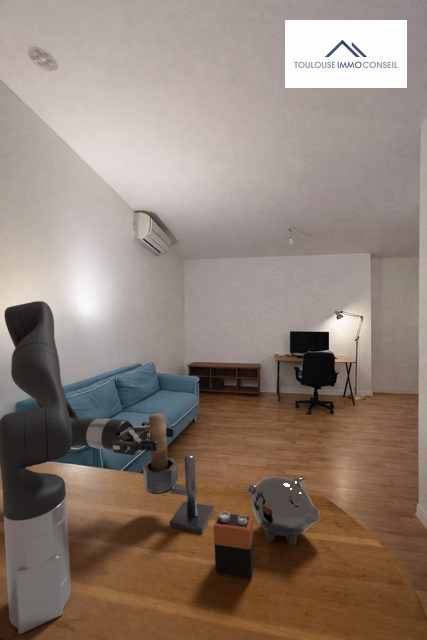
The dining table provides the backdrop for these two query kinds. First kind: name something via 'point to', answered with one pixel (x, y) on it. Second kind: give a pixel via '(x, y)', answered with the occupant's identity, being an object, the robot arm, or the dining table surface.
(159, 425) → the rail post
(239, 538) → the battery
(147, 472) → the cup bracket
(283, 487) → the piggy bank
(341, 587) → the dining table surface
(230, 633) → the dining table surface
